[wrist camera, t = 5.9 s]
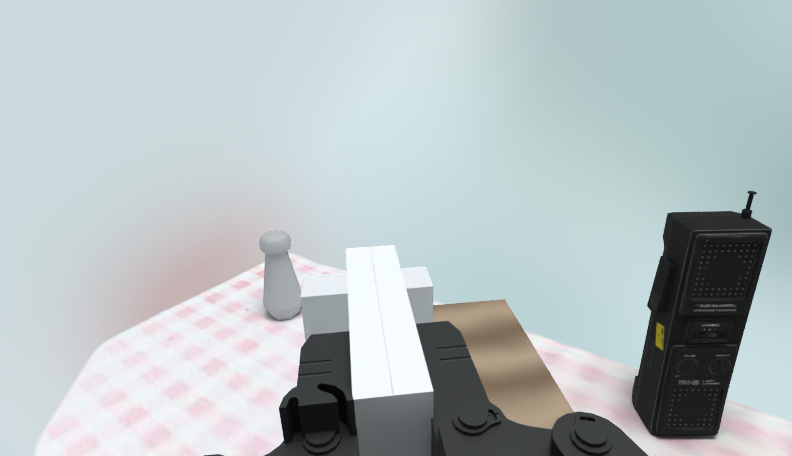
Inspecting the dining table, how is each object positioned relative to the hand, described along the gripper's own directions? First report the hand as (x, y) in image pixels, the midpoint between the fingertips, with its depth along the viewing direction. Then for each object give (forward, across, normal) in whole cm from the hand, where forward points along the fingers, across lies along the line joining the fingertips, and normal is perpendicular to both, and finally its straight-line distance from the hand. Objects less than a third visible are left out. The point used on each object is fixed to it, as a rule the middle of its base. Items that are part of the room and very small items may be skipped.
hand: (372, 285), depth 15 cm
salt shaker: (+51, -11, -32) cm, 61 cm away
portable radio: (+23, +32, -32) cm, 51 cm away
